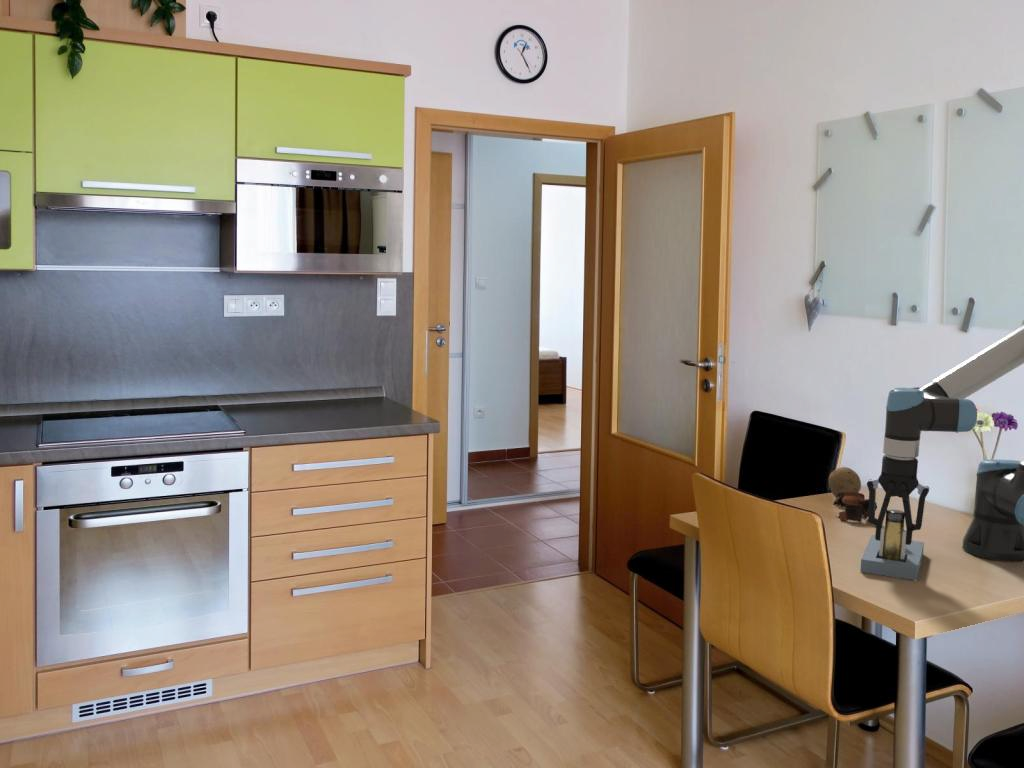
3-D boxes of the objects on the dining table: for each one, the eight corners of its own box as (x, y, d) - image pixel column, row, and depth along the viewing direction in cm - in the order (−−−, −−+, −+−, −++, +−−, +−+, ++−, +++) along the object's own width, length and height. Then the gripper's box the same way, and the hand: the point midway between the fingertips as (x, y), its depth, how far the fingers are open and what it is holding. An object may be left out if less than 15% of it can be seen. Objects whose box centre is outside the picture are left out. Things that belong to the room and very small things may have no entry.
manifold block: (923, 554, 241) (924, 542, 240) (916, 580, 221) (918, 567, 221) (870, 546, 246) (871, 534, 245) (860, 571, 226) (861, 559, 226)
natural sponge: (843, 495, 295) (845, 462, 294) (866, 503, 288) (869, 469, 286) (820, 498, 291) (823, 465, 290) (843, 506, 283) (846, 472, 282)
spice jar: (901, 561, 230) (905, 511, 228) (899, 566, 226) (904, 515, 224) (882, 558, 231) (887, 508, 230) (881, 563, 228) (885, 512, 226)
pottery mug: (828, 520, 270) (828, 491, 273) (841, 529, 277) (841, 500, 280) (871, 517, 263) (871, 487, 266) (885, 527, 269) (884, 497, 272)
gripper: (941, 457, 225) (932, 557, 228) (862, 449, 232) (855, 545, 236) (940, 464, 218) (930, 566, 222) (859, 454, 225) (851, 554, 229)
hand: (891, 555), depth 229 cm, fingers closed on spice jar, 4 cm apart
